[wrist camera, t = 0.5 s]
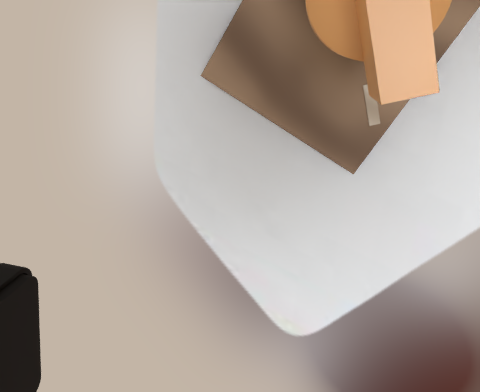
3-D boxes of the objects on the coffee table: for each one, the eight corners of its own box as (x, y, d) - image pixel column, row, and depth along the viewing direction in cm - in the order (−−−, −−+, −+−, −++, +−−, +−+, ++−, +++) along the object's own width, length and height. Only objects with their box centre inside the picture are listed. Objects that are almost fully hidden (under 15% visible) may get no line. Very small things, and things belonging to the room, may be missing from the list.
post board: (356, -195, 29) (373, -277, 22) (530, -74, 30) (604, -114, 23) (206, 74, 36) (179, 81, 29) (351, 167, 37) (362, 198, 29)
